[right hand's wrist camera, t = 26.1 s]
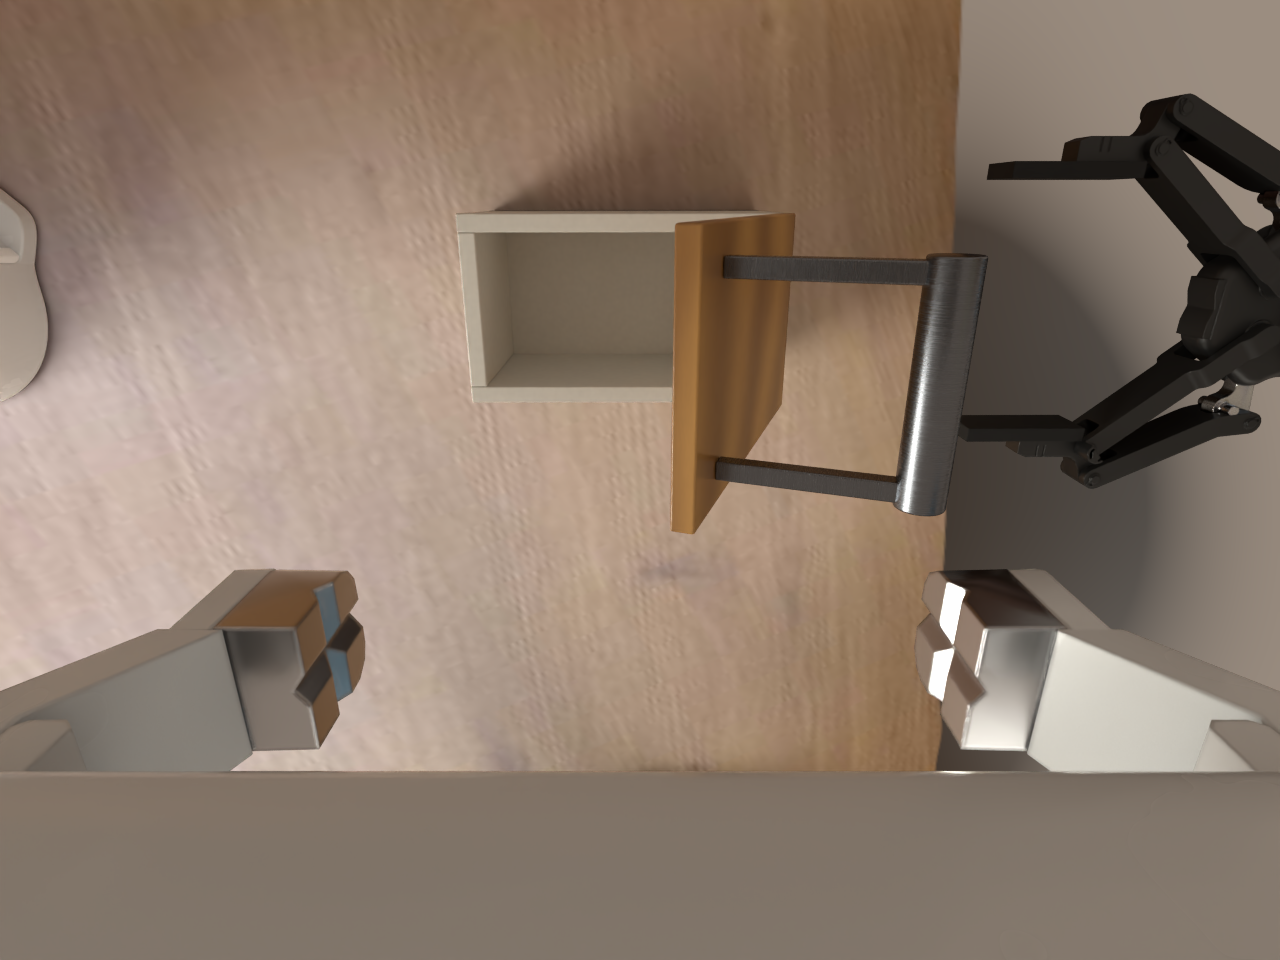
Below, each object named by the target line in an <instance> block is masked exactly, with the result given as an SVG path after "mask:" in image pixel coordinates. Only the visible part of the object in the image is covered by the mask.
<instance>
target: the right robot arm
mask: <svg viewBox="0 0 1280 960" xmlns="http://www.w3.org/2000/svg"><path fill="white" fill-rule="evenodd" d="M36 246H37V230H36V225H35V221H34V219H33V217H32V216H31V214H30V213H29V212H28V211H27V210H26V209H25V208H24V207H23V206H22V205H21V204H19V203H18V202H17V201H16V200H14V199H13V198H12V197H11V196H9V195H8V194H7V193H6V192H4V191H3V190H2V189H1V188H0V402H2V401H4V400H7V399H9V398H11V397H12V396H14V395H16V394H17V393H19V392H20V391H21V390H23V389H24V388H25V387H26V386H27V385H28V384H29V383H30V382H31V381H32V379H33V378H34V377H35V375H36V374H37V372H38V370H39V368H40V366H41V364H42V362H43V359H44V356H45V352H46V348H47V341H48V320H47V312H46V307H45V303H44V299H43V296H42V292H41V289H40V286H39V283H38V280H37V276H36V271H35V265H34V264H35V256H36ZM357 601H358V595H357V590H356V585H355V580H354V578H353V577H352V575H351V574H350V573H349V572H348V571H328V570H276V569H249V570H235V571H234V572H232V573H231V574H230V575H229V576H228V577H227V578H226V579H225V580H224V581H222V582H221V583H220V584H219V585H218V586H217V587H216V588H215V589H213V590H212V591H211V592H210V593H209V594H208V595H207V596H206V597H205V598H203V599H202V600H201V601H200V602H199V603H198V604H197V605H196V606H194V607H193V608H192V609H191V610H190V611H189V612H188V613H187V614H186V615H184V616H183V617H182V618H181V619H180V620H179V621H178V622H177V623H175V624H174V625H173V626H172V627H171V628H170V629H157V630H154V631H152V632H149V633H147V634H144V635H142V636H139V637H137V638H134V639H131V640H129V641H126V642H124V643H121V644H119V645H116V646H114V647H111V648H109V649H106V650H104V651H101V652H98V653H96V654H93V655H91V656H88V657H86V658H83V659H81V660H78V661H76V662H73V663H71V664H68V665H66V666H63V667H60V668H58V669H55V670H53V671H50V672H48V673H45V674H43V675H40V676H38V677H35V678H33V679H30V680H28V681H25V682H22V683H20V684H17V685H15V686H12V687H10V688H7V689H5V690H2V691H0V960H1280V691H1277V690H1275V689H1272V688H1270V687H1267V686H1265V685H1262V684H1260V683H1257V682H1255V681H1252V680H1250V679H1247V678H1245V677H1242V676H1239V675H1237V674H1234V673H1232V672H1229V671H1227V670H1224V669H1222V668H1219V667H1217V666H1214V665H1212V664H1209V663H1207V662H1204V661H1202V660H1199V659H1196V658H1194V657H1191V656H1189V655H1186V654H1184V653H1181V652H1179V651H1176V650H1174V649H1171V648H1169V647H1166V646H1164V645H1161V644H1159V643H1156V642H1154V641H1151V640H1148V639H1146V638H1143V637H1141V636H1138V635H1136V634H1133V633H1131V632H1128V631H1126V630H1123V629H1110V628H1109V627H1108V626H1107V625H1106V624H1105V623H1103V622H1102V621H1101V620H1100V619H1099V618H1098V617H1097V616H1096V615H1094V614H1093V613H1092V612H1091V611H1090V610H1089V609H1088V608H1087V607H1086V606H1084V605H1083V604H1082V603H1081V602H1080V601H1079V600H1078V599H1077V598H1076V597H1074V596H1073V595H1072V594H1071V593H1070V592H1069V591H1068V590H1067V589H1066V588H1064V587H1063V586H1062V585H1061V584H1060V583H1059V582H1058V581H1057V580H1056V579H1054V578H1053V577H1052V576H1051V575H1050V574H1049V573H1048V572H1047V571H1043V570H1040V569H1017V570H1007V569H999V570H959V571H958V570H957V571H935V572H930V573H929V575H928V577H927V579H926V581H925V583H924V589H923V595H922V601H923V602H924V604H925V605H926V607H927V608H928V610H929V611H930V614H929V615H928V616H927V617H926V618H925V619H924V620H923V621H922V622H921V623H920V624H919V625H918V626H917V632H916V639H915V658H916V667H917V670H918V674H919V677H920V680H921V682H922V684H923V685H924V687H925V689H926V691H927V693H929V694H931V695H932V696H934V697H936V698H937V699H939V700H940V701H942V708H941V713H940V715H941V716H942V718H943V720H944V721H945V723H946V725H947V727H948V728H949V730H950V732H951V733H952V735H953V736H954V738H955V740H956V742H957V743H958V745H959V747H960V748H961V749H972V750H1010V751H1028V752H1027V754H1028V755H1029V756H1031V757H1032V758H1034V759H1035V760H1036V761H1038V762H1039V763H1040V764H1042V765H1043V766H1044V767H1046V768H1047V769H1049V770H1050V771H230V770H232V769H233V768H235V767H236V766H237V765H239V764H240V763H241V762H243V761H244V760H245V759H247V758H248V757H249V756H251V755H252V754H253V753H252V751H270V750H306V749H319V748H320V747H321V745H322V743H323V742H324V740H325V738H326V737H327V735H328V733H329V732H330V730H331V728H332V727H333V725H334V723H335V721H336V720H337V718H338V716H339V715H340V713H339V708H338V701H340V700H341V699H343V698H344V697H346V696H348V695H349V694H351V693H353V691H354V689H355V687H356V685H357V683H358V682H359V680H360V678H361V673H362V669H363V665H364V661H365V638H364V631H363V626H362V625H361V624H360V623H359V622H358V621H357V620H356V619H355V618H354V617H353V616H352V615H351V614H350V611H351V610H352V608H353V607H354V605H355V604H356V602H357Z"/></svg>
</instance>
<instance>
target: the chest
mask: <svg viewBox="0 0 1280 960" xmlns="http://www.w3.org/2000/svg"><path fill="white" fill-rule="evenodd" d="M766 214H777V212H766V211H757V210H663V211H486V212H472V213H458V214H456V226H457V232H459V233H458V234H457V235H458V246H459V258H460V269H461V280H462V291H463V302H464V313H465V324H466V335H467V347H468V358H469V369H470V380H471V386H472V387H471V392H472V401H473V402H672V380H673V315H674V250H675V224H676V223H680V222H690V221H701V220H712V219H723V218H734V217H744V216H755V215H766Z"/></svg>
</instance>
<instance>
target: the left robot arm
mask: <svg viewBox="0 0 1280 960" xmlns="http://www.w3.org/2000/svg"><path fill="white" fill-rule="evenodd" d="M1140 120H1141V123H1140V124H1139V126H1138V128H1137V129H1136V131H1135V132H1134V133H1133V134H1132V135H1130V136H1089V137H1083V138H1076V139H1073V140H1071V141H1068V142H1066V143H1065V144H1064V149H1063V154H1062V159H1061V161H1013V162H1004V163H995V164H989V169H988V175H987V180H1112V179H1132V178H1135V179H1136V180H1137V181H1138V183H1139V184H1140V185H1141V186H1142V187H1143V188H1144V190H1145V191H1146V192H1147V193H1148V194H1149V195H1150V197H1151V198H1152V199H1153V200H1154V201H1155V203H1156V204H1157V205H1158V206H1159V207H1160V208H1161V210H1162V211H1163V212H1164V213H1165V214H1166V215H1167V217H1168V218H1169V219H1170V220H1171V221H1172V222H1173V224H1174V225H1175V226H1176V227H1177V228H1178V229H1179V231H1180V232H1181V233H1182V234H1183V235H1184V237H1185V238H1186V239H1187V240H1188V242H1189V243H1188V244H1187V247H1188V248H1189V250H1190V251H1191V252H1192V253H1193V254H1194V256H1195V257H1196V258H1197V259H1198V260H1199V261H1200V263H1201V264H1202V265H1203V268H1202V269H1201V270H1200V271H1199V273H1198V274H1197V276H1191V280H1190V283H1189V287H1188V304H1187V307H1186V309H1185V310H1184V312H1183V314H1182V316H1181V318H1180V320H1179V324H1178V328H1177V332H1176V333H1179V334H1181V338H1182V340H1181V341H1180V342H1178V343H1177V344H1175V345H1174V346H1173V347H1171V348H1170V349H1168V350H1167V351H1165V352H1164V353H1162V354H1161V355H1160V356H1159V357H1158V358H1157V363H1156V364H1155V365H1154V366H1152V367H1151V368H1149V369H1148V370H1146V371H1145V372H1144V373H1142V374H1141V375H1139V376H1138V377H1136V378H1135V379H1133V380H1132V381H1131V382H1129V383H1128V384H1126V385H1125V386H1123V387H1122V388H1121V389H1119V390H1118V391H1116V392H1115V393H1113V394H1112V395H1110V396H1109V397H1108V398H1106V399H1105V400H1103V401H1102V402H1100V403H1099V404H1097V405H1096V406H1095V407H1093V408H1092V409H1090V410H1089V411H1087V412H1086V413H1084V414H1083V415H1081V416H1080V417H1079V418H1077V419H1076V420H1074V421H1073V422H1071V421H1069V420H1067V419H1065V418H1063V417H1061V416H1059V415H961V421H960V427H959V433H958V436H960V437H961V438H962V439H964V440H965V441H967V442H968V441H969V442H973V441H1006V446H1007V447H1008V448H1010V449H1011V450H1013V451H1014V452H1016V453H1017V454H1020V455H1022V456H1025V457H1063V461H1062V463H1061V470H1062V472H1064V473H1065V474H1067V475H1068V476H1070V477H1071V478H1073V479H1074V480H1076V481H1078V482H1079V483H1081V484H1083V485H1084V486H1086V487H1088V488H1091V489H1093V488H1097V487H1100V486H1102V485H1104V484H1107V483H1109V482H1111V481H1114V480H1116V479H1119V478H1121V477H1123V476H1126V475H1128V474H1130V473H1133V472H1135V471H1138V470H1140V469H1142V468H1145V467H1147V466H1150V465H1152V464H1154V463H1157V462H1159V461H1161V460H1164V459H1166V458H1169V457H1171V456H1173V455H1176V454H1178V453H1180V452H1183V451H1185V450H1188V449H1190V448H1192V447H1195V446H1197V445H1199V444H1202V443H1204V442H1207V441H1209V440H1211V439H1214V438H1216V437H1220V436H1230V435H1239V434H1248V433H1252V432H1253V431H1255V430H1257V428H1258V427H1259V426H1260V424H1261V417H1260V416H1259V415H1258V414H1256V413H1254V412H1251V411H1249V409H1250V404H1251V399H1252V394H1253V389H1254V385H1256V384H1258V383H1260V382H1262V381H1265V380H1267V379H1270V378H1273V377H1280V151H1279V150H1278V149H1276V148H1275V147H1273V146H1271V145H1270V144H1268V143H1267V142H1265V141H1264V140H1262V139H1261V138H1259V137H1258V136H1256V135H1255V134H1253V133H1252V132H1250V131H1249V130H1247V129H1246V128H1244V127H1243V126H1241V125H1240V124H1238V123H1237V122H1235V121H1234V120H1232V119H1230V118H1229V117H1227V116H1226V115H1224V114H1223V113H1221V112H1220V111H1218V110H1217V109H1215V108H1214V107H1212V106H1211V105H1209V104H1208V103H1206V102H1205V101H1203V100H1202V99H1200V98H1199V97H1197V96H1196V95H1193V94H1184V95H1179V96H1174V97H1169V98H1164V99H1159V100H1154V101H1150V102H1149V103H1147V104H1146V105H1145V106H1144V107H1143V108H1142V111H1141V113H1140ZM1183 150H1184V151H1185V152H1187V153H1188V154H1190V155H1191V156H1193V157H1194V158H1196V159H1198V160H1199V161H1201V162H1202V163H1204V164H1205V165H1207V166H1209V167H1210V168H1212V169H1213V170H1215V171H1216V172H1218V173H1220V174H1221V175H1223V176H1224V177H1226V178H1227V179H1229V180H1230V181H1232V182H1234V183H1235V184H1237V185H1238V186H1240V187H1242V188H1244V189H1246V190H1249V191H1252V192H1257V193H1260V194H1259V195H1258V197H1257V201H1258V203H1260V204H1263V206H1264V208H1266V209H1268V210H1270V211H1271V212H1272V213H1273V217H1274V220H1273V224H1272V225H1269V226H1266V227H1264V228H1262V229H1260V230H1259V231H1257V232H1256V231H1255V230H1253V229H1252V228H1249V227H1247V226H1245V225H1244V224H1243V223H1242V222H1241V221H1240V220H1239V219H1238V217H1237V216H1236V215H1235V214H1234V213H1233V211H1232V210H1231V209H1230V208H1229V206H1228V205H1227V204H1226V203H1225V202H1224V200H1223V199H1222V198H1221V197H1220V195H1219V194H1218V193H1217V192H1216V191H1215V189H1214V188H1213V187H1212V186H1211V185H1210V183H1209V182H1208V181H1207V180H1206V178H1205V177H1204V176H1203V175H1202V173H1201V172H1200V171H1199V170H1198V169H1197V167H1196V166H1195V165H1194V164H1193V163H1192V161H1191V160H1190V159H1189V158H1188V156H1187V155H1186V154H1185V153H1184V151H1183ZM1196 358H1197V359H1199V360H1200V361H1197V360H1194V359H1196ZM1221 379H1222V380H1224V385H1223V386H1222V388H1221V389H1220V390H1219V391H1218V392H1216V393H1214V394H1211V395H1209V396H1202V397H1200V398H1199V399H1198V404H1196V405H1191V406H1187V407H1183V408H1180V409H1178V410H1175V411H1173V412H1170V413H1168V414H1166V415H1163V416H1161V417H1159V418H1156V419H1154V420H1152V421H1150V420H1151V419H1153V418H1154V417H1156V416H1157V415H1158V414H1160V413H1161V412H1163V411H1164V410H1166V409H1167V408H1169V407H1170V406H1172V405H1173V404H1175V403H1176V402H1178V401H1179V400H1181V399H1182V398H1184V397H1185V396H1187V395H1188V394H1190V393H1191V392H1193V391H1194V390H1196V389H1199V388H1205V387H1209V386H1211V385H1213V384H1215V383H1216V382H1217V381H1219V380H1221ZM1148 421H1149V422H1148Z"/></svg>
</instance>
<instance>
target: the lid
mask: <svg viewBox="0 0 1280 960" xmlns="http://www.w3.org/2000/svg"><path fill="white" fill-rule="evenodd" d="M794 227H795V214H794V213H777V214H766V215H755V216H744V217H734V218H723V219H712V220H701V221H690V222H680V223H676V224H675V250H674V315H673V380H672V445H671V510H670V529H671V531H674V532H681V533H687V534H694V533H695V532H696V530H697V529H698V527H699V526H700V524H701V523H702V521H703V520H704V518H705V517H706V516H707V514H708V513H709V511H710V510H711V508H712V507H713V505H714V504H715V502H716V501H717V499H718V498H719V496H720V495H721V493H722V492H723V490H724V489H725V487H726V486H727V484H728V483H729V482H737V483H745V484H752V485H760V486H768V487H776V488H784V489H792V490H800V491H808V492H815V493H823V494H831V495H839V496H847V497H855V498H863V499H870V500H878V501H886V502H893V505H894V507H896V508H897V509H898V510H900V511H902V512H905V513H908V514H912V515H918V516H936V515H940V514H942V513H944V511H945V510H946V504H947V498H948V492H949V486H950V480H951V475H952V469H953V463H954V457H955V451H956V445H957V439H958V433H959V427H960V421H961V415H962V409H963V404H964V398H965V392H966V386H967V380H968V374H969V368H970V362H971V356H972V350H973V344H974V339H975V333H976V327H977V321H978V315H979V309H980V303H981V297H982V291H983V285H984V279H985V274H986V267H987V262H988V256H986V255H979V254H962V253H936V254H929V255H927V257H926V259H900V258H857V257H814V256H792V255H793V241H794ZM791 281H807V282H837V283H866V284H895V285H923V286H922V293H921V300H920V307H919V314H918V322H917V329H916V336H915V343H914V350H913V358H912V365H911V372H910V379H909V386H908V394H907V401H906V408H905V415H904V422H903V430H902V437H901V444H900V451H899V458H898V466H897V473H896V477H895V476H887V475H878V474H869V473H861V472H852V471H844V470H835V469H826V468H818V467H809V466H800V465H792V464H783V463H775V462H766V461H757V460H749V459H745V458H746V456H747V455H748V453H749V452H750V450H751V449H752V447H753V446H754V445H755V443H756V442H757V440H758V439H759V437H760V436H761V434H762V433H763V431H764V430H765V428H766V427H767V425H768V424H769V422H770V421H771V419H772V418H773V416H774V415H775V413H776V412H777V410H778V409H779V408H780V406H781V404H782V391H783V378H784V364H785V350H786V337H787V323H788V309H789V296H790V282H791Z"/></svg>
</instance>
